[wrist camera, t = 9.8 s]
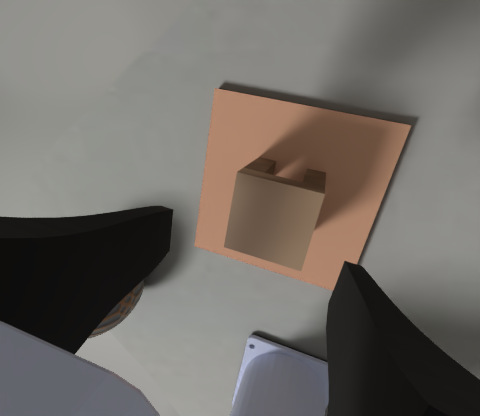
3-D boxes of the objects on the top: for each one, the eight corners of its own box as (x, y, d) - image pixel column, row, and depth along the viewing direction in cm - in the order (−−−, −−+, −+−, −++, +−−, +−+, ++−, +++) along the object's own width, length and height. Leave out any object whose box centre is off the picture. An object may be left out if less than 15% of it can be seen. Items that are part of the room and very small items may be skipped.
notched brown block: (326, 172, 18) (324, 194, 13) (307, 234, 20) (301, 271, 15) (258, 156, 19) (236, 171, 14) (246, 216, 21) (223, 247, 16)
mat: (344, 289, 21) (344, 294, 20) (197, 242, 23) (194, 246, 23) (408, 124, 16) (411, 125, 16) (218, 88, 19) (214, 88, 18)
